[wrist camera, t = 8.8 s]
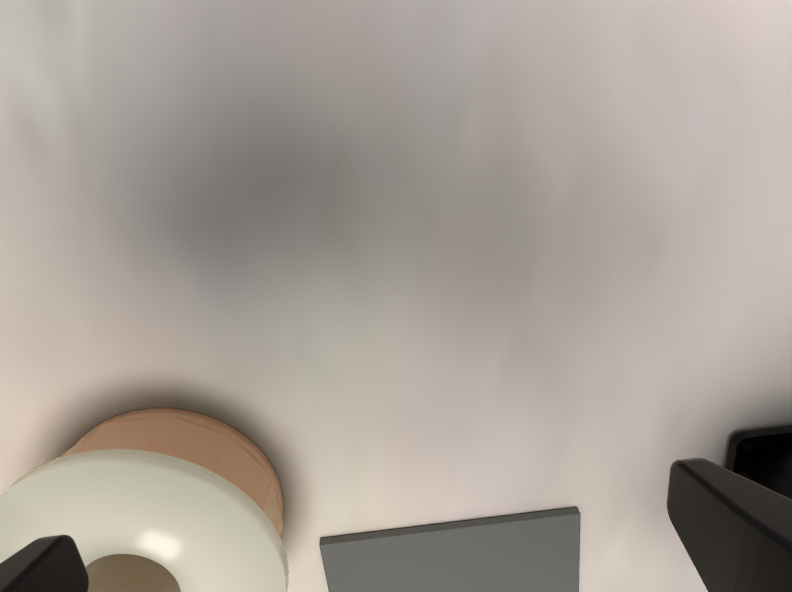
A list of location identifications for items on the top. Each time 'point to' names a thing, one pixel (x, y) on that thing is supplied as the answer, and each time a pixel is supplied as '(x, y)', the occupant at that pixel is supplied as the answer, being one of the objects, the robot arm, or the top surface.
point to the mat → (461, 556)
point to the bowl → (194, 450)
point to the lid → (146, 523)
